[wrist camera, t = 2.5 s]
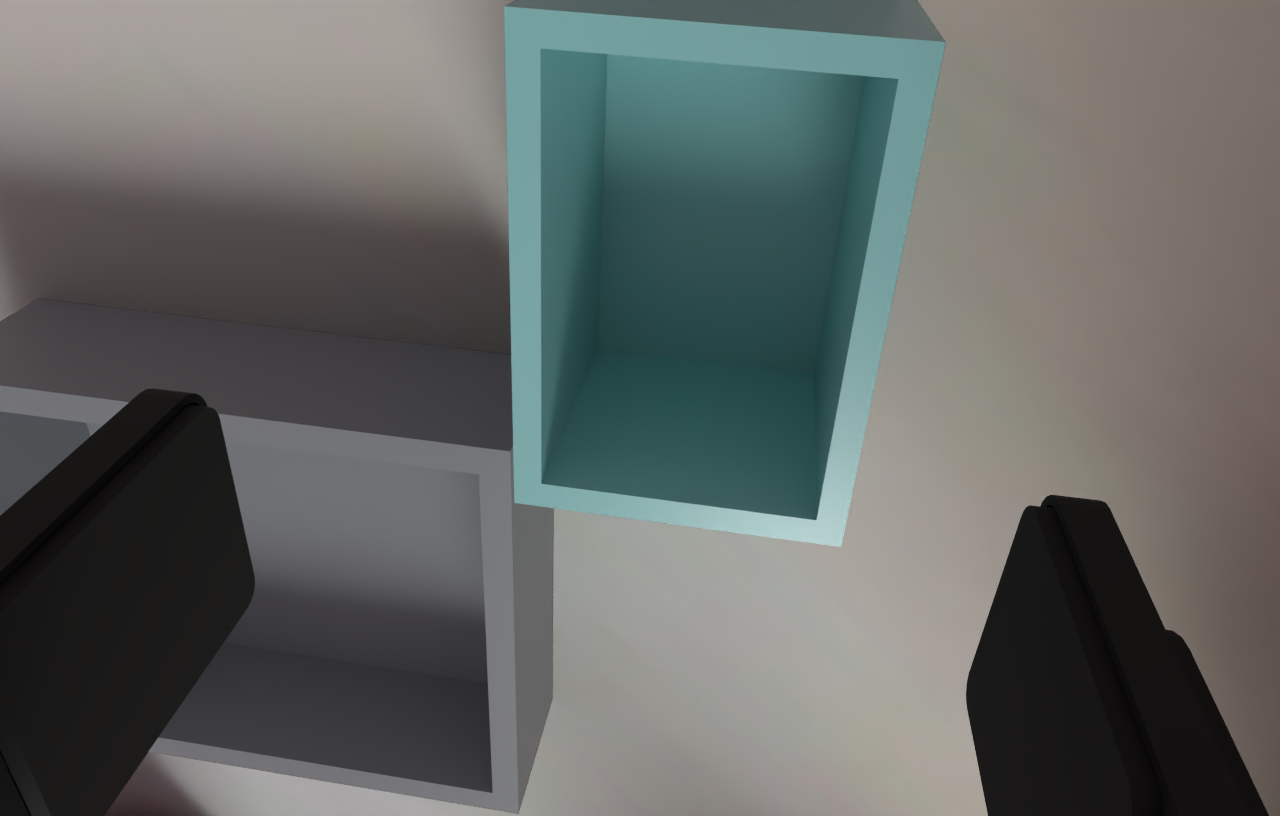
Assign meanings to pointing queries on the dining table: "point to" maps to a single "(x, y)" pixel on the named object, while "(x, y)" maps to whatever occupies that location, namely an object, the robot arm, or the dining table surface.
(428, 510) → the charcoal crate
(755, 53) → the teal crate
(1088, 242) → the dining table surface
